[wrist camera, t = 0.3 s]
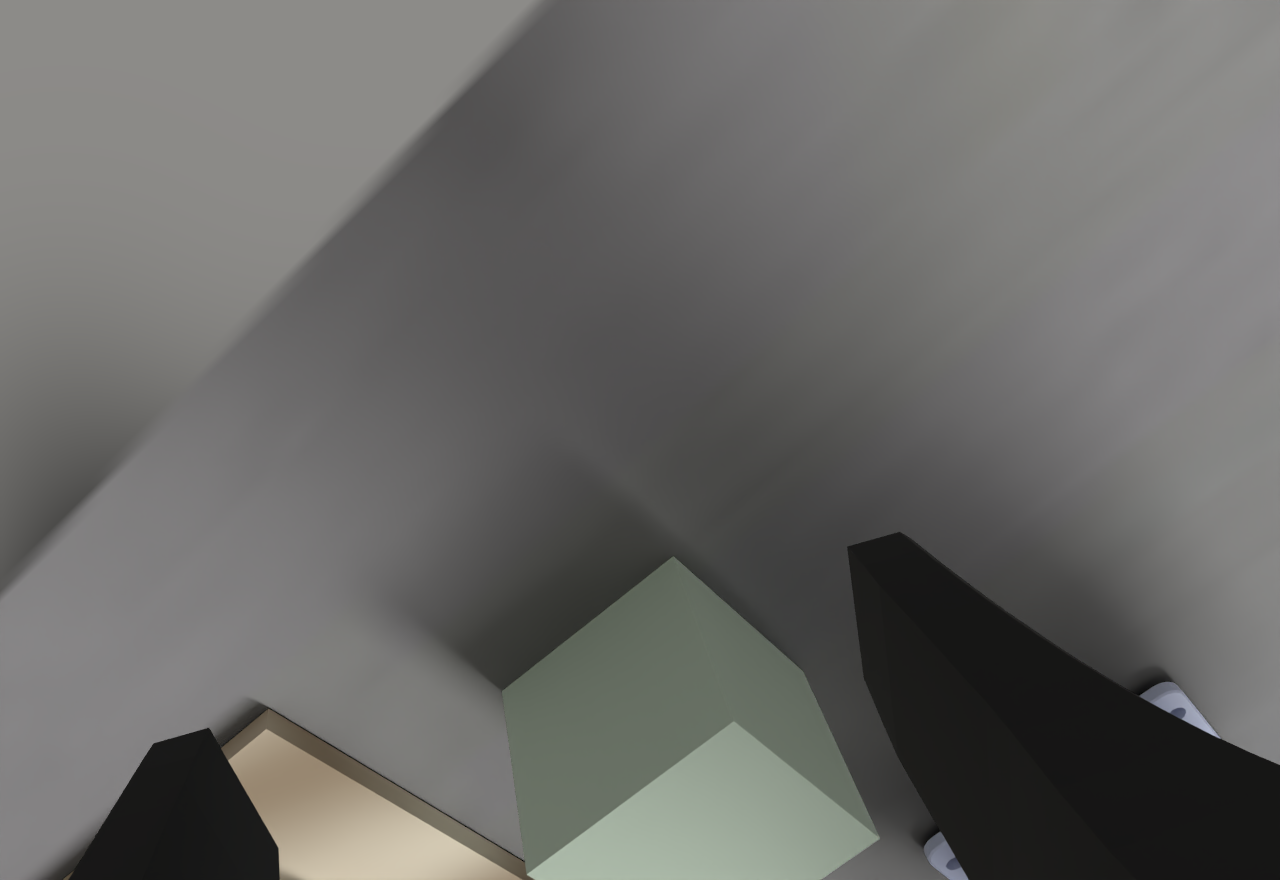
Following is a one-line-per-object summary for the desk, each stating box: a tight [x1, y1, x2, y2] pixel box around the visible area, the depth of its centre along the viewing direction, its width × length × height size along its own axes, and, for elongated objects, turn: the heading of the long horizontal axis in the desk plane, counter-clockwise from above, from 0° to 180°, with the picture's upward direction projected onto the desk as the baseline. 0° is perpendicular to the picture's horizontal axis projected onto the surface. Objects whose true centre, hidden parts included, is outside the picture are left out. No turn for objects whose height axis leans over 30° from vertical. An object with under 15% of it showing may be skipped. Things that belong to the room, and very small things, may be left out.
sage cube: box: [502, 556, 880, 880], centre depth 24 cm, size 5×5×5 cm
